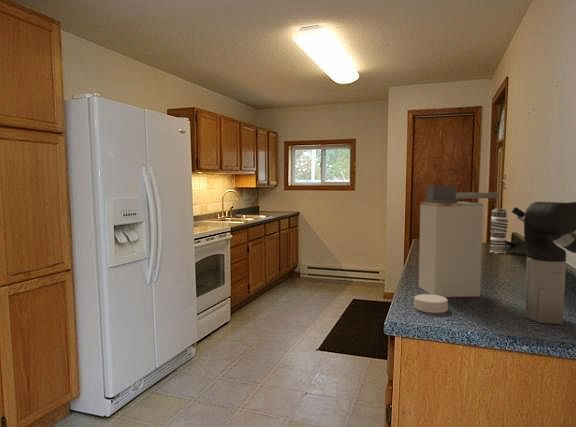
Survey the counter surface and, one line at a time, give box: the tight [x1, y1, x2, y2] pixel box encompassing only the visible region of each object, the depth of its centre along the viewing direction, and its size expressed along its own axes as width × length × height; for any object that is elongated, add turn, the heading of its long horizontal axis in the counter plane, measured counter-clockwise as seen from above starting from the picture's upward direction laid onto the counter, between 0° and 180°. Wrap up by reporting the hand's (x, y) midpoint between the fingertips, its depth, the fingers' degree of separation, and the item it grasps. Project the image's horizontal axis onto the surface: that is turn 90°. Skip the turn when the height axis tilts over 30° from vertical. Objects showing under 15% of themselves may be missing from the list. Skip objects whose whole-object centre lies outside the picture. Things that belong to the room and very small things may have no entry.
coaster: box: [413, 293, 449, 314], centre depth 122 cm, size 10×10×4 cm
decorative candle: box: [489, 208, 509, 254], centre depth 225 cm, size 9×9×25 cm
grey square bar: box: [425, 185, 500, 203], centre depth 140 cm, size 24×6×6 cm, turn 93°
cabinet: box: [418, 198, 484, 298], centre depth 141 cm, size 16×14×33 cm
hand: (520, 210), depth 141 cm, fingers open, 8 cm apart
